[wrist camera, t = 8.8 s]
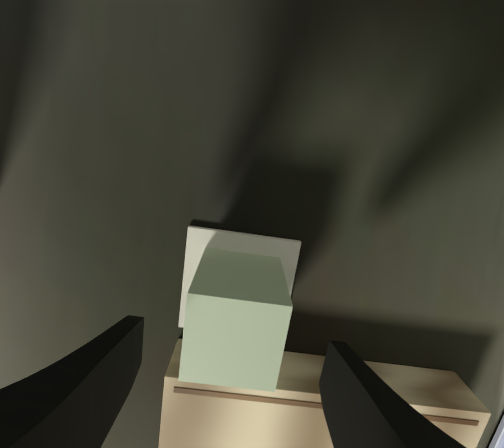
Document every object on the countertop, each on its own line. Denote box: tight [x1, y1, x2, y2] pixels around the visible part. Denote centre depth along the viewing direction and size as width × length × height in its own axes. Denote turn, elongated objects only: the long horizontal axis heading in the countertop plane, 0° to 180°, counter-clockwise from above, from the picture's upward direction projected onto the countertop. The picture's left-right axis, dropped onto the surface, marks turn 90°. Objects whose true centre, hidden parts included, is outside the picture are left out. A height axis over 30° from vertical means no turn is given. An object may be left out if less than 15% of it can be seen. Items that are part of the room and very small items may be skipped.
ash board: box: [159, 339, 491, 448], centre depth 18 cm, size 17×5×3 cm, turn 82°
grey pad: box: [178, 225, 301, 327], centre depth 17 cm, size 6×6×1 cm
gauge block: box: [178, 247, 293, 392], centre depth 14 cm, size 4×4×5 cm
